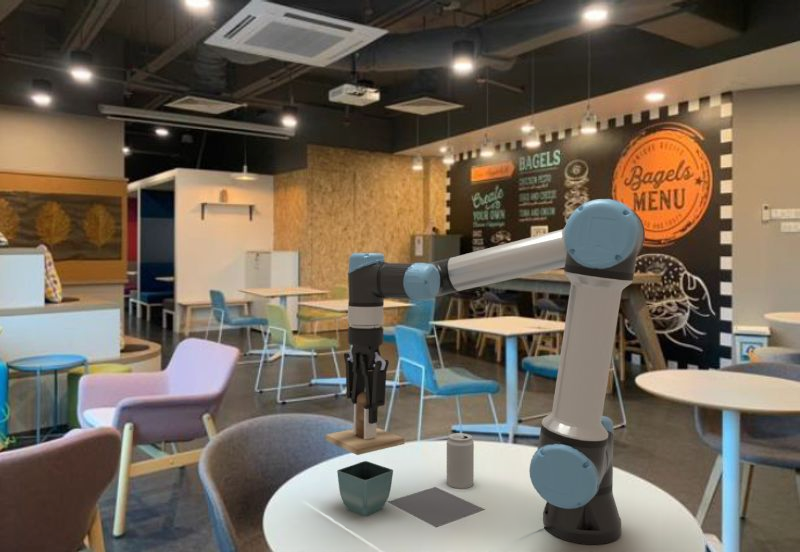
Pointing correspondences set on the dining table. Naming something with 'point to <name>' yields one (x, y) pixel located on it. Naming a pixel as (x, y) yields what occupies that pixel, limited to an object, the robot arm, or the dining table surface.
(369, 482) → the flower pot
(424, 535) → the dining table surface
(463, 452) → the beverage can
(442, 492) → the mat
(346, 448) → the lid
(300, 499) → the dining table surface
